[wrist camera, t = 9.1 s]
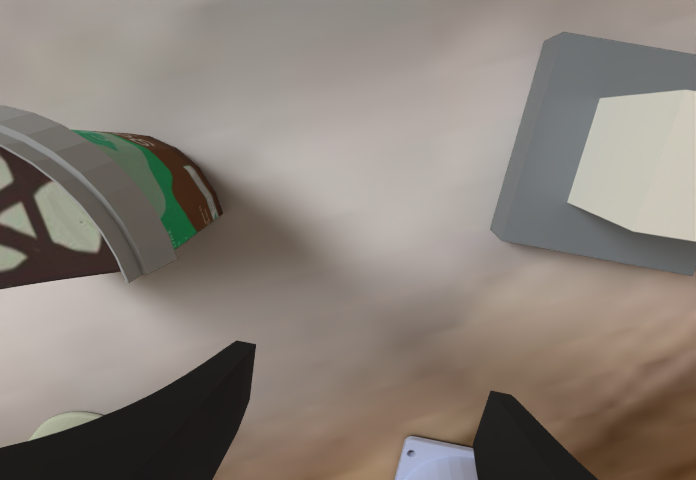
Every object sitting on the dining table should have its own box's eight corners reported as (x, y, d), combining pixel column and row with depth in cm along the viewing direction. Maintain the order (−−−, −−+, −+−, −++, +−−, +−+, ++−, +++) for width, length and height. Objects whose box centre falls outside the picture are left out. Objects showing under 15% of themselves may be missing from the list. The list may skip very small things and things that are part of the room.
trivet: (663, 261, 21) (692, 276, 19) (490, 229, 21) (500, 240, 19) (744, 75, 18) (787, 70, 16) (544, 41, 18) (563, 31, 16)
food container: (221, 89, 20) (75, 63, 10) (249, 210, 22) (144, 281, 12) (3, 130, 22) (-300, 139, 12) (44, 240, 23) (-192, 324, 14)
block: (667, 218, 18) (770, 253, 13) (567, 202, 18) (633, 231, 13) (708, 114, 17) (839, 112, 12) (600, 98, 17) (685, 89, 12)
